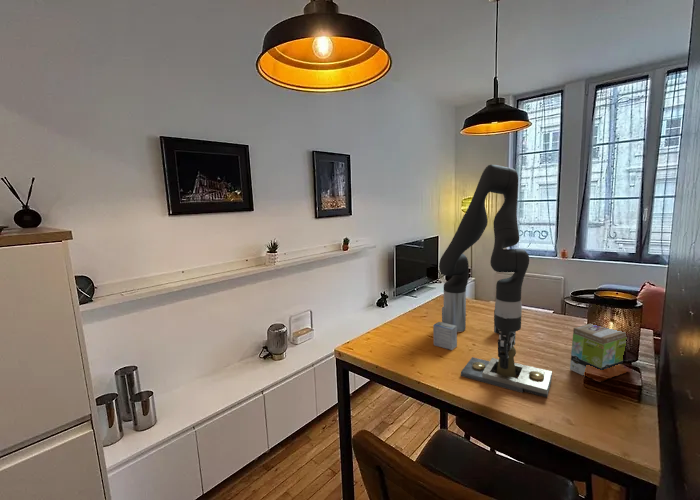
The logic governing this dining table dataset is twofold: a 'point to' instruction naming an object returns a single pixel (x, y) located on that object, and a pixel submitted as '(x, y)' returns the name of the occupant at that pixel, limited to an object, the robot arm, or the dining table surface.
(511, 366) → the cork
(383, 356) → the dining table surface
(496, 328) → the battery charger
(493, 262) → the robot arm
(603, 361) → the tea box
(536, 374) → the upper link plate
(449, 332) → the medicine box
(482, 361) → the lower link plate
